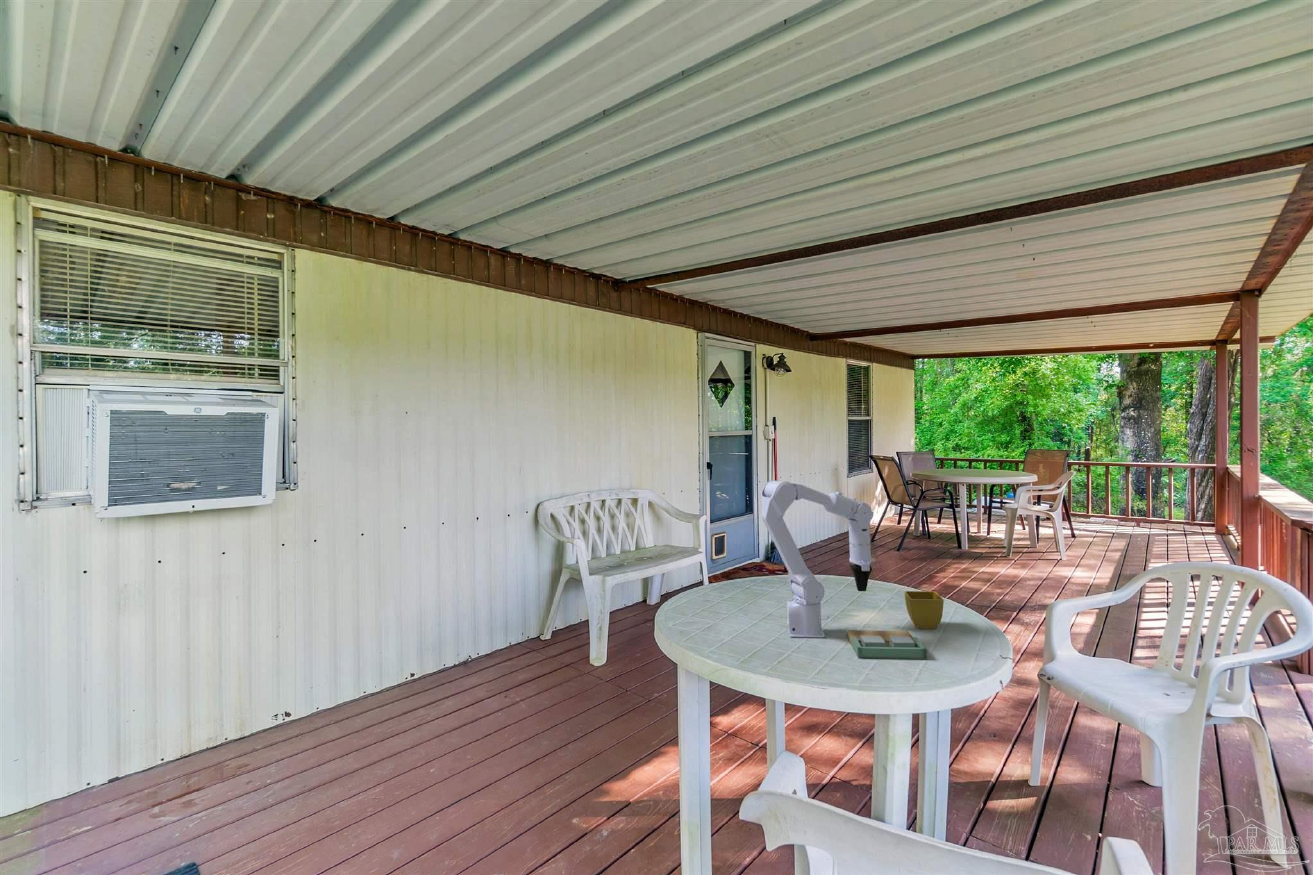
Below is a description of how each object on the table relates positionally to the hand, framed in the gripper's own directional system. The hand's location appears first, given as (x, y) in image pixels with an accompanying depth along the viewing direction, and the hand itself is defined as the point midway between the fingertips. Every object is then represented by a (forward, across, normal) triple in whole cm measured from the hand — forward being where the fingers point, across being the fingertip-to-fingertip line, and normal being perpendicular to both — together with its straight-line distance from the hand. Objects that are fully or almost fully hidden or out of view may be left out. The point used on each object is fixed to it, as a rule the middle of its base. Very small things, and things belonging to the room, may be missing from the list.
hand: (861, 590), depth 165 cm
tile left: (+10, -19, +1) cm, 21 cm away
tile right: (+10, -19, -6) cm, 22 cm away
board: (+10, -12, -2) cm, 16 cm away
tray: (+10, -20, -2) cm, 23 cm away
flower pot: (+11, +1, -17) cm, 20 cm away
